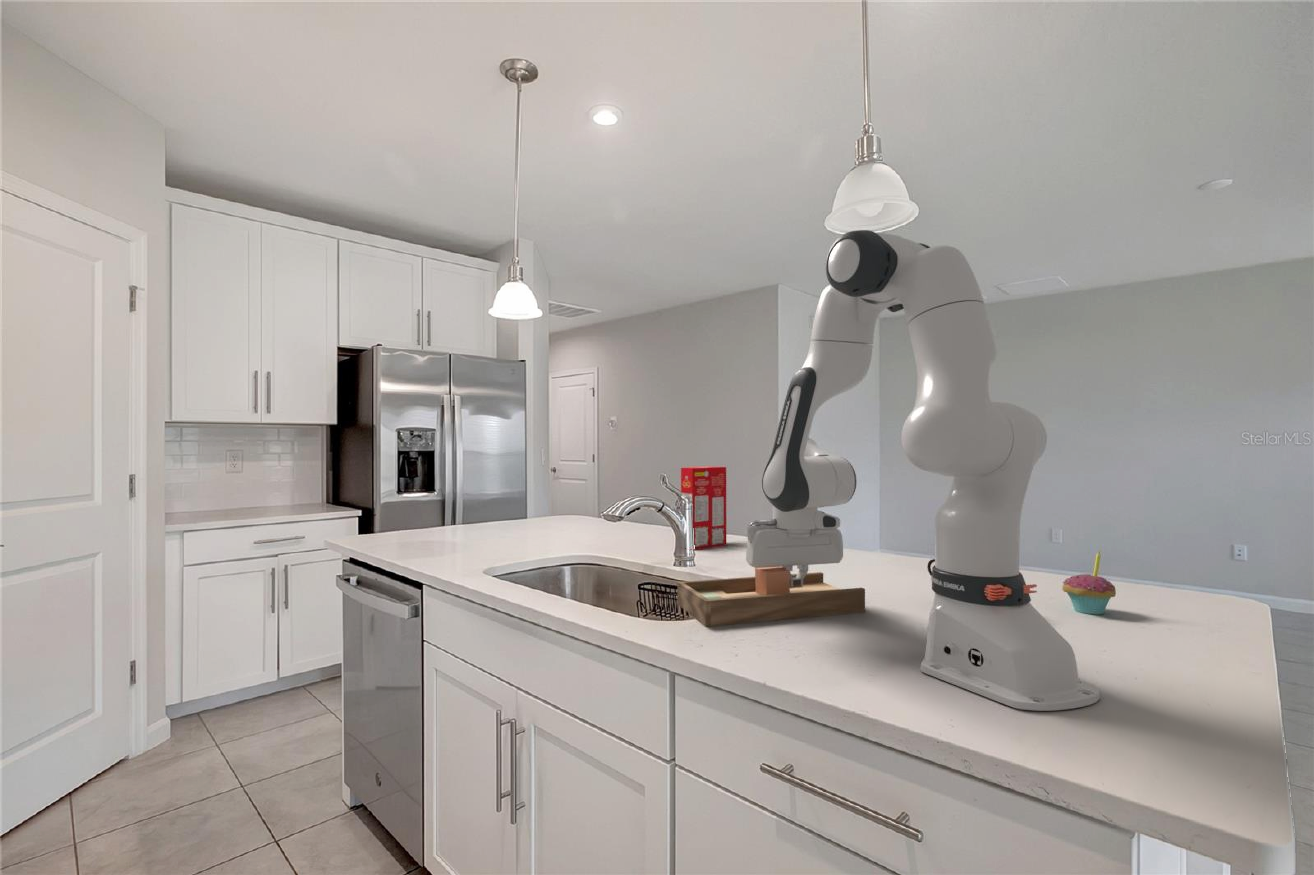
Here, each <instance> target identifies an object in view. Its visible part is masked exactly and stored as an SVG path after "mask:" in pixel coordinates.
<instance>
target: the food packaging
mask: <svg viewBox="0 0 1314 875" xmlns="http://www.w3.org/2000/svg"><path fill="white" fill-rule="evenodd" d="M681 492H682V493H683V494H685V495H686V496H687V497H689V498H690V501H692V504H693V528H694V545H695V549H696V550H695V551H697V550H704V549H709V548H717V547H724V546H727V467H726V466H694V467H693V466H692V467H690V466H689V467H680V493H681Z"/></svg>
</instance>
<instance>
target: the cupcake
mask: <svg viewBox="0 0 1314 875" xmlns="http://www.w3.org/2000/svg"><path fill="white" fill-rule="evenodd" d="M1101 550H1102V549H1099V551H1098V553H1096V556H1095V563H1094V569H1093V574H1089V573H1088V574H1085V573H1083V574H1078V575H1072V576H1069V577H1068V578H1066V579H1065V580H1064V581H1062V584H1063V585H1062V587H1061V588H1062V589H1061V590H1062V591H1063V592H1065V593H1067V596H1068V597H1069V599H1070V600H1071V603H1072V607H1073V610H1074V611H1076V612H1078V613H1081V614H1087V615H1103V614H1104V613H1105V611H1106V608H1107V606H1108V603H1109V602H1110V600H1111V598H1114V597H1116V594H1117V592H1116V586H1115V585H1114V584H1112V582H1110V581H1109V580H1107V579H1106V578H1105V577H1102V576H1098V574H1099V573H1098V572H1099V568H1100V561H1101V556H1102V555H1101Z"/></svg>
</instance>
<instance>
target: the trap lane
mask: <svg viewBox="0 0 1314 875" xmlns="http://www.w3.org/2000/svg"><path fill="white" fill-rule="evenodd" d="M797 574H798V573H791V575H792V577H796V576H797ZM676 587H677V597H676V598H677V605H678V606H679V607H680V608H682V609H683V610H685V611H686V612H687V613H688V614H689V615H691V616H692V617H693V618H695V620H697V621H698V622H700V623H701V625H703V626H704V627H714V626H725V625H737V624H746V623H747V624H748V623H758V622H769V621H770V622H771V621H781V620H789V619H790V620H793V619H803V618H814V617H815V618H816V617H823V616H824V617H825V616H827V617H828V616H836V615H837V616H838V615H847V614H857V613H858V614H859V613H865V612H866V589H865V587H855V588H842V589H841V588H838V587H836V586H833V585H831V584H829V583H826V582H824V573H823V572H821V571H819V572H809V573H808V572H807V574H806V576H805V577H804V579H803V587H800V588H790V593H786V594H773V595H759V594H758V593H756V584H755V576H747V577H745V576H744V577H733V578H731V577H730V578H729V577H728V578H718V579H717V578H716V579H702V580H687V581H677V586H676Z"/></svg>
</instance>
